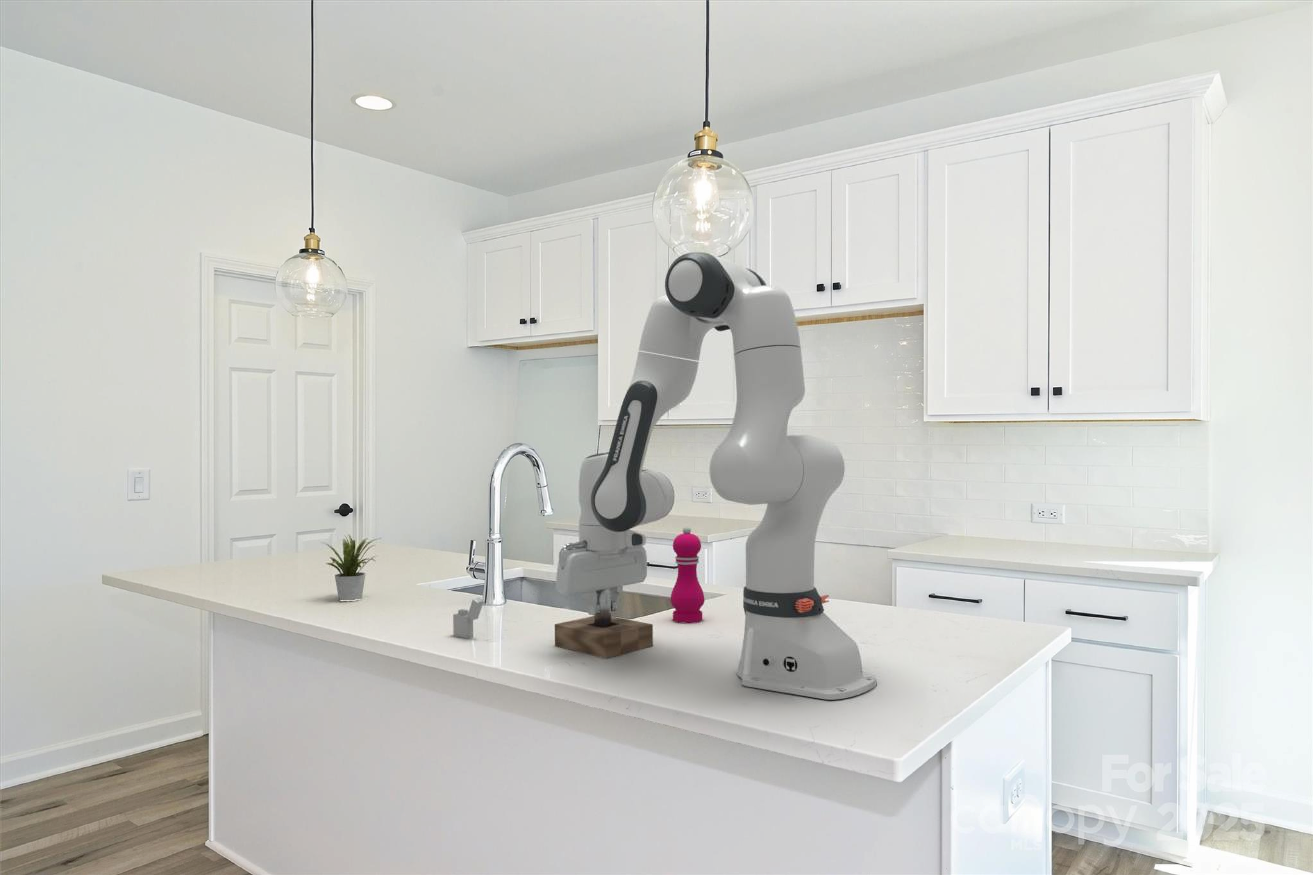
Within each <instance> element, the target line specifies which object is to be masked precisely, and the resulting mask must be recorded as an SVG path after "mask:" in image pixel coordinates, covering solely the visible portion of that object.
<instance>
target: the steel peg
mask: <svg viewBox="0 0 1313 875" xmlns="http://www.w3.org/2000/svg"><path fill="white" fill-rule="evenodd" d="M611 593H612V591H611V588H608V589H603V590H598V591H596V596H595V597H593V598H594V600H595V602H596V604H598V605H600V609H599V610H600V613H599V614H597V615H593V616H594V626H595V627H600V628H606V627H610V626H611V616H612V611H611Z"/></svg>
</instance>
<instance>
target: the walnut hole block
mask: <svg viewBox="0 0 1313 875" xmlns="http://www.w3.org/2000/svg"><path fill="white" fill-rule="evenodd" d="M653 625H654V624H653V623H648V622H644V621H643V622H642V621H638V620H633V619H627V618H622V617H618V616H613V615H611V626H610V627H606V628H600V627H595V626H594V615H590V616H586V617H584V618H577V619H573V620H569V621H563V622H560V623H554V646H556V647H560V648H564V649H567V650H571V651H575V652H579V653H583V654H586V655H590V656H591V655H592V656H595V657H599V658H603V659H609V658H612V657H616V656H620V655H623V654H627V653H632V652H635V651H639V650H643V649H646V648H651V647H653V646H654V637H653V636H654V630H653V627H654V626H653Z"/></svg>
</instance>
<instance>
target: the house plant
mask: <svg viewBox="0 0 1313 875" xmlns="http://www.w3.org/2000/svg"><path fill="white" fill-rule="evenodd" d="M344 537H345V538H343V539H342V549H343V550H342V555H343V558H342V557H341V555H340V554H339V553H338V552H337V550H336V549H335V548H334V547H332V546H331V545H329V544H328V543H326V542H322V541H321V544H322V543H323V544H325V545H327V546H328V547H329V548H330V549H331V550H332V551H333V552H334V554H335V556H336V557H337V558H338V560H337V559H336V558H334V557H333V556H332V557H329V558H330V559H331V560H332V562H326V565H329V566H331V567H334V568H335V569H336V570H337V571H338V572H339V573H336V574H335V575H334V579H335V585H336V590H337V596H338V600H339V599H340V600H355V599H361V598H362V599H363V592H364V586H365V580H366V573H365V572H361V570H362V569H363V568H364V567H365V565H366V564H368V563H369V562H370V561H374V562H375V563H376V560H375V559H374V558H376V557H377V555H376V556H373V557H371V558H369V559H368V558H363V557H364V555H365V554H366V553H367V551H368V550H369V549H370V548H372V547H374V546H375V544H373V545H371V546H369V547H368V548H367V546H368V545H369V544H371V543H372V542H374V541H377V540H381V539H382V537H380V538H379V537H378V538H374V539H372V540H370V541H367V540H368V538H369V537H368V538H365V539H362V540H361V541H360V542H359V544H358V546H357V547H356V539H353V538H352V536H351V535H350V534H349V533H348V537H347V535H344ZM366 548H367V549H366ZM365 549H366V550H365ZM364 550H365V551H364ZM363 551H364V553H363ZM362 553H363V554H362ZM361 554H362V556H361ZM360 556H361V558H360ZM362 558H363V559H362ZM366 560H367V561H366ZM339 561H340V562H339ZM361 564H362V565H361ZM358 569H359V570H358Z"/></svg>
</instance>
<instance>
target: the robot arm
mask: <svg viewBox="0 0 1313 875" xmlns="http://www.w3.org/2000/svg"><path fill="white" fill-rule="evenodd" d="M664 291H665V295H661V296H659V297H657V298H656V299H655V300H654V301H653V302H652V305H651V306H650V309H649V312H648V314H647V317H646V320H645V323H644V325H643V326H644V327H643V329H642V330H643V331H642V333H641V337H640V342H639V347H638V352H637V358H636V362H635V368H634V371H633V375H632V378H631V380H630V384H629V386H628V389H627V391H626V393H625V395H624V398H623V401H622V403H621V405H620V410H619V413H618V417H617V419H616V420H617V421H616V424H615V428H614V431H613V435H612V438H611V439H612V440H611V443H610V447H609V451H607V452H601V453H599V452H598V453H596V454H595V453H594V454H590V455H588V456H587V457H585V458H584V459H583V461H582V463H581V466H580V469H579V470H580V471H579V480H578V503H579V506H580V516H579V520H578V541H576V542H568V543H565V544H564V546H563V547H562V548H561V549H560V550H559V551H558V562H557V567H556V568H557V569H556V570H557V571H556V577H555V580H556V581H555V589H556V591H557V592H558V594H560V595H564V596H576V595H581V594H582V597H583V600H584V602H585V604H586V605H587V613H588V615H590V616H594V615H597V614H599V613H600V610H599V609H600V605H598V604H596V602H595V600H594V597H595V596H596V591H598V590H603V589H608V588H611V612H615V611H618V610H619V600H620V599H621V596H622V595H623V591H624V590H623V587H624V586H630V585H636V584H640V583H644V581H645V580H646V578H647V577H648V558H647V557H648V556H647V550H646V548H645V547H644V546H645V545H646V543H647V540H646V539H647V536H646V534H644V533H641V532H638V531H634V530H632V529H633V528H635V527H638V526H642V525H643V526H644V525H647V524H650V523H654V522H656V521H657V522H658V521H659V520H662V519H664V518H665V517H667V516H668V515H669V514H670V512H671V511H672V509H673V507H674V504H675V503H674V502H675V490H674V487H673V484H672V483H671V481H670V479H669V478H668V477H667V476H666V475H665V474H663V473H661V472H658V471H654V470H651V469H648V468H645V467H644V463H645V460H646V456H647V452H648V447H649V443H650V439H651V436H652V434H653V430H654V428H655V426H656V424H657V423H658V421H659V420H660V419H661V418H662V417H663V416H664V415H665V414H667V413H668V412H669V411H670V410H672V409H674V408H675V407H676V406H678V405H680V404H682V403H683V402H684V401H685V400H686V399H687V398H688V397H689V396H690V394H691V391H692V390H693V387H694V385H695V382H696V377H697V375H698V374H697V373H698V369H699V361H700V358H701V357H700V355H701V349H702V345H703V340H704V338H705V336H706V334H707V333H708V332H709V331H710V330H711V329H714V330H716V331H718V332H724V331H727V330H730V332H731V338H732V345H733V359H734V372H735V386H736V388H735V389H736V404H735V410H734V411H735V412H734V415H733V416H734V417H733V419H732V423H731V426H730V428H729V431H728V433H727V435H726V437H725V438H724V439H723V441H721V443H720V444H719V445H718V446H717V447H716V448H715V450H714V451H713V454H712V455H711V459H710V462H709V478H710V482H711V484H712V487H713V489H714V491H715V492H716V493H717V495H718V496H720V498H722V499H724V500H725V501H729V502H733V503H737V504H743V505H749V506H750V505H751V506H752V505H766V504H767V505H766V508H765V511H764V514H763V517H762V520H761V521H760V523H759V524H758V526H756V528H755V529H754V530H753V531H751V533H749V535H748V537H747V538H746V542H745V586H744V587H743V598H742V602H743V603H742V607H743V611H744V616H745V618H744V634H743V642H742V648H741V654H740V659H739V663H738V666H737V668H736V669H737V670H736V675H737V677H739V678H740V679H741V685H742V686H743V687H748V688H756V689H759V690H760V689H762V690H767V691H774V692H779V693H785V694H790V695H791V694H793V695H796V696H805V697H809V698H816V699H822V700H827V701H828V700H829V701H831V700H841V699H847V698H851V697H855V696H858V695H861V694H864V693H866V692H868V691H870V690H872V689H874V687H876V685H877V683H878V681H877V676H876V674H873V673H871V672H868V671H863V665H862V664H863V663H862V658H861V654H860V650H859V646H858V644H857V642H856V641H855V640H854V639H853V638H852V637H851V636H849V635H848V634H847V633H846V632H845V631H844V630H843V629H842V628H841V627H839V626H838V625H837V623H835V622H834V621H833V620H832V618H830V617H829V616H828V615H827V614H826V613H825V612H824V611H825V609H824V608H825V607H824V605H823V604H827V603H829V602H830V600H826V599H828V598H829V597H830V595H829V594H826V595H822V596H820V594H819V592H818V590H817V588H816V587H815V548H816V547H815V546H816V538H817V533H818V530H819V525H820V520H821V519H822V515H823V513H824V510H825V507H826V505H827V503H828V501H829V499H830V498H831V497H832V495H833V494H834V493H835V492H836V491H838V489H839V487H840V486H841V484H842V482H843V480H844V477H845V469H846V468H845V466H846V465H845V460H844V456H843V455H842V454H843V453H842V452H841V451H840V449H839V447H837V446H836V444H835V443H833V442H831V441H830V440H826V439H823V438H820V437H816V436H812V435H809V434H808V435H805V434H804V435H799V434H798V435H788V426H789V418H790V416H791V413H792V412H793V410H794V408H796V407H797V406H798V405H799V404H801V402H802V401H803V398H804V396H805V393H806V388H805V377H804V367H803V357H802V348H801V347H802V346H801V340H800V334H799V328H798V324H797V318H796V314H795V311H794V307H793V304H792V302H791V299H790V296H789V295H788V293H787V292H786V291H785V290H783V289H781V288H779V287H776V286H773V285H767V284H766V282H765V280H764V279H763V278H762V277H761V276H760V275H759V274H758V273H757V272H756V271H754V270H752V269H750V268H747V267H744V266H742V265H741V264H738V263H736V262H735V261H733V260H732V259H729V258H725V257H721V256H717V255H712V254H711V253H707V252H703V251H702V252H701V251H700V252H699V251H697V252H696V251H694V252H687V253H684V254H682V255H680V256H678V257H677V258H676V259H675V260H674V261H673V262H672V263H671V265H669V268H668V270H667V272H666V275H665V281H664Z"/></svg>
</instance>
